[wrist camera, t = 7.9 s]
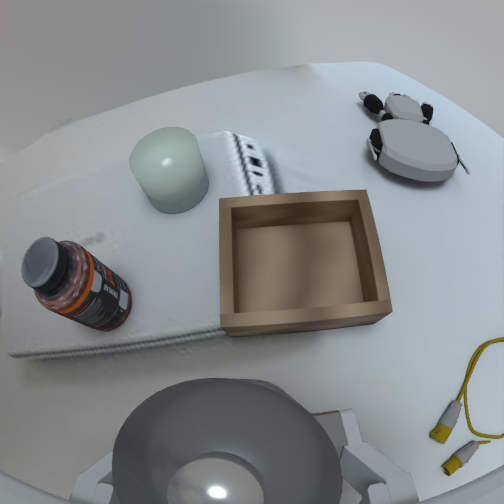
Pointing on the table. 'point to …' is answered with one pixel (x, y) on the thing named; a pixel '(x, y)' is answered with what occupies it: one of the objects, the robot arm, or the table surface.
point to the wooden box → (300, 263)
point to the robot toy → (410, 139)
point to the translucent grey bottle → (224, 448)
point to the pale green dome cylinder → (170, 169)
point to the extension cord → (452, 415)
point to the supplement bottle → (75, 284)
